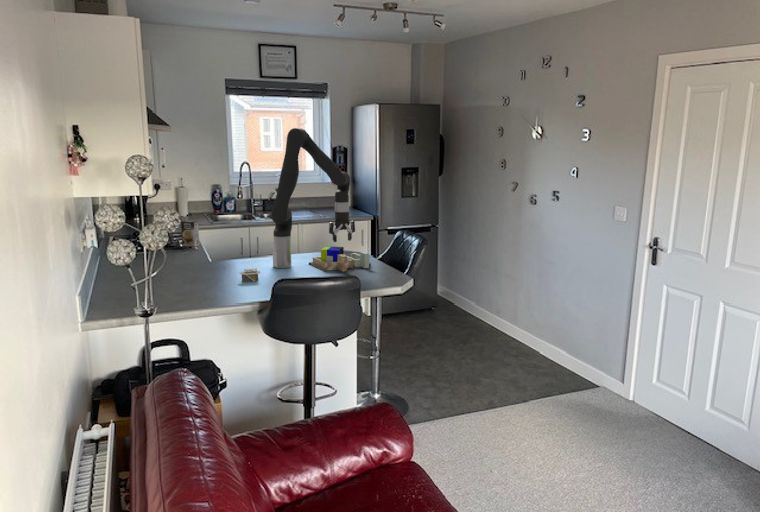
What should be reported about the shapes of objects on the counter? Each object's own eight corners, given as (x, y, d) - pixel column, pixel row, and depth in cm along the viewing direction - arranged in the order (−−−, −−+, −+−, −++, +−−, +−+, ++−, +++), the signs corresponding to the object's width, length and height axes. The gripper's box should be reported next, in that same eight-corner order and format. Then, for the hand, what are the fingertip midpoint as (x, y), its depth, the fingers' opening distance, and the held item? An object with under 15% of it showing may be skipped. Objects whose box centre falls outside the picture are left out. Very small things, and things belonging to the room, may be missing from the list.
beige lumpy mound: (331, 273, 294) (331, 258, 292) (312, 264, 313) (312, 250, 312) (358, 269, 302) (358, 255, 301) (338, 261, 321) (338, 247, 320)
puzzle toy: (338, 268, 305) (338, 250, 302) (321, 267, 306) (320, 249, 304) (343, 264, 314) (343, 247, 312) (326, 263, 316) (326, 246, 314)
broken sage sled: (359, 268, 304) (359, 254, 302) (340, 261, 322) (340, 247, 321) (373, 267, 309) (374, 252, 307) (354, 259, 327) (354, 246, 325)
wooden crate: (270, 283, 274) (270, 270, 273) (232, 286, 268) (232, 273, 267) (266, 278, 285) (266, 265, 284) (230, 280, 279) (229, 267, 278)
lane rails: (323, 271, 298) (323, 269, 298) (308, 264, 314) (308, 262, 314) (371, 265, 313) (371, 263, 313) (354, 259, 329) (354, 257, 329)
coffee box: (181, 246, 362) (180, 221, 358) (186, 244, 368) (185, 219, 365) (195, 246, 360) (193, 221, 357) (199, 244, 367) (198, 220, 363)
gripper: (333, 212, 287) (333, 243, 291) (357, 210, 295) (357, 241, 298) (326, 210, 294) (327, 241, 297) (350, 209, 301) (350, 238, 304)
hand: (342, 241), depth 297 cm, fingers open, 8 cm apart
